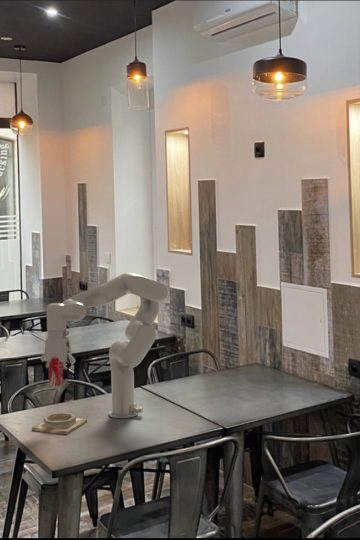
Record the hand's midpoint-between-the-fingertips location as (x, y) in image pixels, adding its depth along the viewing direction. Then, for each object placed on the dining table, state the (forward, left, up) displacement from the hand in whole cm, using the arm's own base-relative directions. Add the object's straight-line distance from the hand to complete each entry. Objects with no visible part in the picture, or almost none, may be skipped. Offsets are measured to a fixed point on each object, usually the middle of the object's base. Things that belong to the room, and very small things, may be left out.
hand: (58, 377), depth 265 cm
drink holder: (0, 0, -20) cm, 20 cm away
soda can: (0, 0, -3) cm, 3 cm away
